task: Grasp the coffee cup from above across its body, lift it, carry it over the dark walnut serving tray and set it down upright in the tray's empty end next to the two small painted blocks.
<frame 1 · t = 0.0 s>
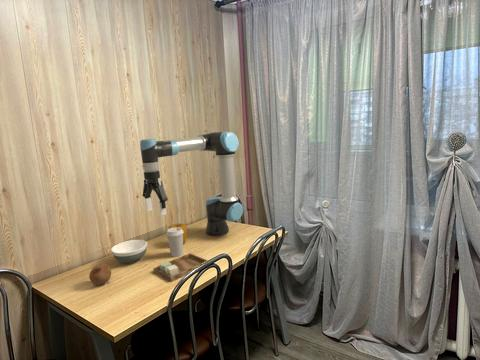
hand: (156, 212, 157), 28 cm above the table, fingers open, 13 cm apart
sage block: (166, 271, 152), point 1 cm above the table, touching tray
amber vase: (179, 244, 188), on the table
bowl: (131, 260, 170), on the table
cream block: (173, 275, 148), point 1 cm above the table, touching tray
onion: (101, 283, 146), on the table
coffee cup: (177, 255, 172), on the table
tray: (181, 269, 155), on the table
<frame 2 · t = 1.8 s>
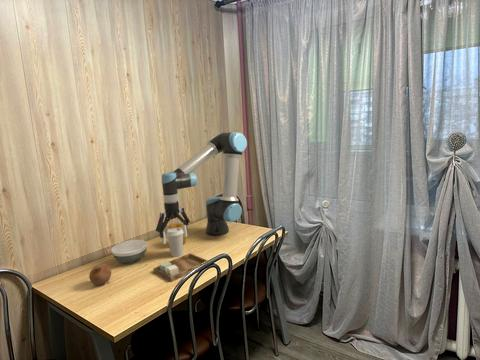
hand: (174, 239, 170), 9 cm above the table, fingers open, 13 cm apart
nothing on the table moved.
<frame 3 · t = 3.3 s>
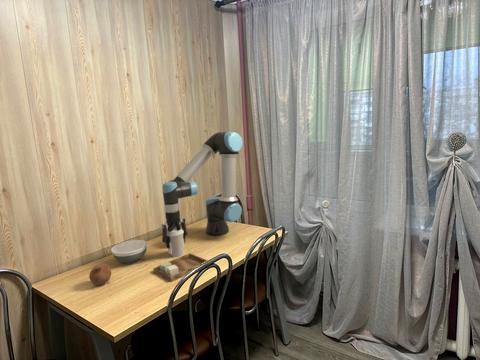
hand: (176, 251, 171), 3 cm above the table, fingers closed on coffee cup, 7 cm apart
coffee cup: (177, 255, 172), on the table, touching gripper
everything else where it was.
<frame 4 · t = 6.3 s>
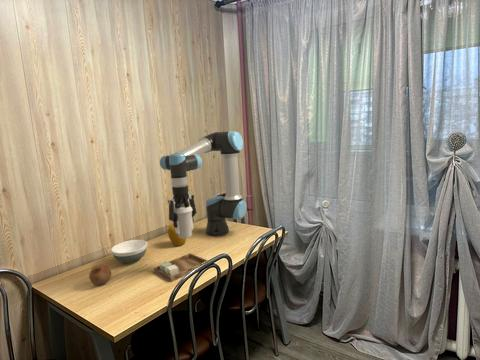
hand: (184, 230, 154), 19 cm above the table, fingers closed on coffee cup, 7 cm apart
coffee cup: (185, 236, 155), point 16 cm above the table, touching gripper
everything else where it was.
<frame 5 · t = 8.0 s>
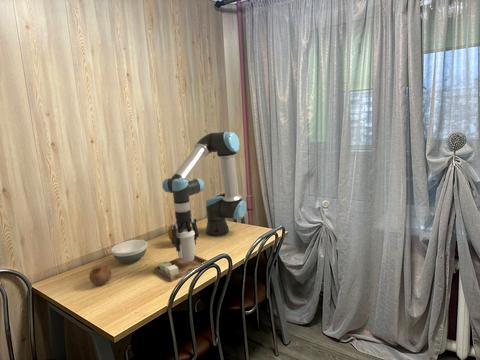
hand: (187, 254, 156), 6 cm above the table, fingers closed on coffee cup, 7 cm apart
coffee cup: (187, 259, 157), point 4 cm above the table, touching gripper
everything else where it was.
when the fingers open (5 cm above the table, at t = 9.1 s): coffee cup drops 2 cm, resting in tray.
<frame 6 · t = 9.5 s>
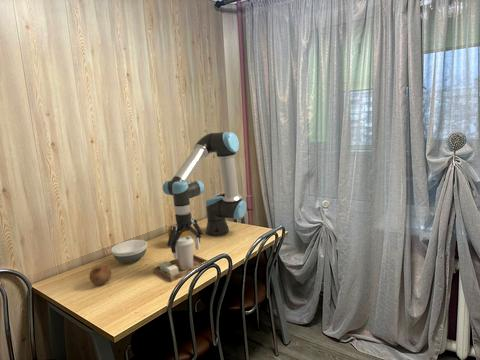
hand: (187, 254, 156), 7 cm above the table, fingers open, 13 cm apart
coffee cup: (186, 267, 155), resting in tray, touching gripper
everything else where it was.
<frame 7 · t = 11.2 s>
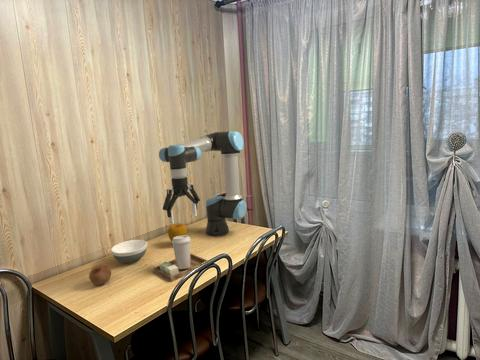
hand: (183, 219, 153), 25 cm above the table, fingers open, 13 cm apart
coffee cup: (183, 267, 154), point 1 cm above the table, touching tray
everything else where it was.
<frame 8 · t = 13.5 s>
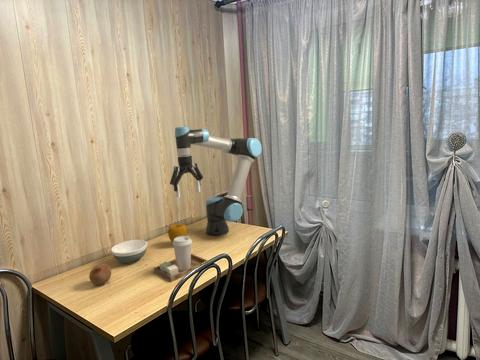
hand: (188, 194, 171), 33 cm above the table, fingers open, 13 cm apart
at the end: coffee cup inside the target area on the tray (1.1 cm from its centre), point 0.5 cm above the tray's base; coffee cup tilted 1°; the gripper is holding nothing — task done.
